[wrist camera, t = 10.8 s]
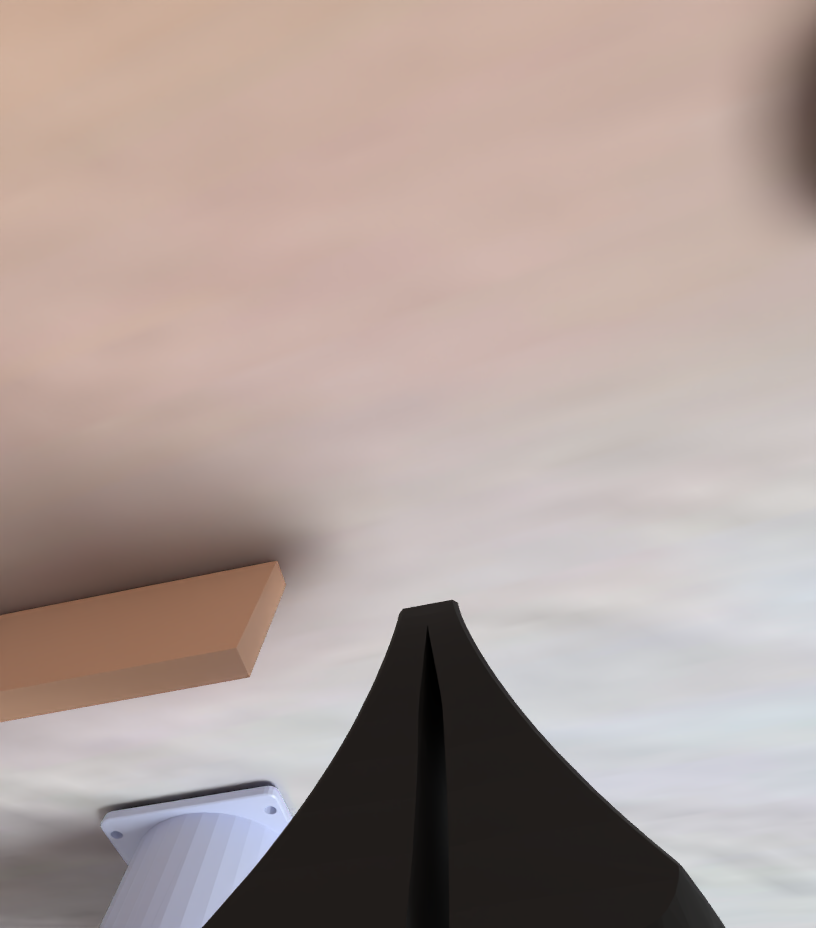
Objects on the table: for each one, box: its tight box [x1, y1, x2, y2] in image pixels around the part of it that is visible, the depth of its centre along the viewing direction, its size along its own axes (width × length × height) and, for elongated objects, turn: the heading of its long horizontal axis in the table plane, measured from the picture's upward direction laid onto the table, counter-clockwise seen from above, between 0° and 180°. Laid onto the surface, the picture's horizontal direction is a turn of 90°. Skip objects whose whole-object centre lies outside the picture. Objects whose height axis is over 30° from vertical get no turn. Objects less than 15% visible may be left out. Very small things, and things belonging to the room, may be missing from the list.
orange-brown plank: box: [0, 561, 286, 722], centre depth 14 cm, size 1×15×4 cm, turn 102°
